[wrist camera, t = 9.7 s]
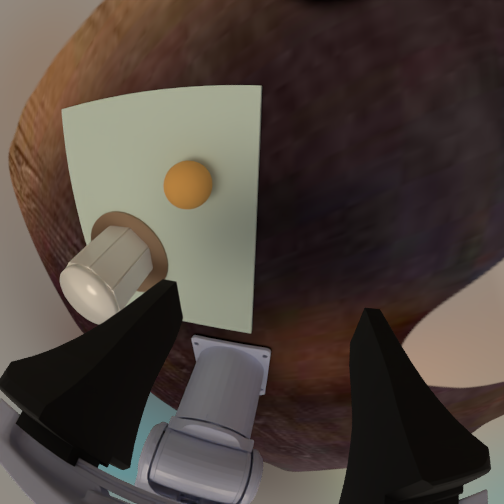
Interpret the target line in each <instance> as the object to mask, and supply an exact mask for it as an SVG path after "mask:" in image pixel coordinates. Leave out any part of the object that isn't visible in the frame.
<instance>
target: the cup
mask: <svg viewBox="0 0 504 504" xmlns="http://www.w3.org/2000/svg"><path fill="white" fill-rule="evenodd" d="M152 269H153V265H152V260H151V255H150V250H149V247H148V245H147V244H146V243H145V242H144V241H143V240H142V239H141V238H140V237H139V236H138V235H137V234H136V233H135V232H134V231H133V230H132V229H129V228H128V227H119V226H109V227H107V228H106V229H105V230H104V231H103V232H102V233H100V234H99V235H98V236H97V237H96V238H95V239H94V240H93V241H91V242H90V243H89V244H88V245H87V246H86V247H85V248H84V249H83V250H82V251H80V252H79V253H78V254H77V255H76V256H75V257H74V258H73V259H72V260H71V261H70V262H69V263H68V265H67V267H66V268H65V269H64V270H63V271H62V273H61V275H60V285H61V288H62V291H63V293H64V295H65V297H66V298H67V300H68V301H69V303H70V304H71V305H72V306H73V307H74V309H75V310H76V311H77V312H79V313H80V314H81V315H82V316H83V317H85V318H86V319H88V320H90V321H91V322H93V323H96V324H99V325H100V324H101V323H103V322H104V321H106V320H107V319H109V318H110V317H112V316H113V315H115V314H116V313H118V312H119V311H120V310H122V309H123V308H124V307H125V306H126V305H127V303H128V302H129V300H130V299H131V298H132V296H133V295H134V294H135V292H136V291H137V289H138V288H139V287H140V285H141V284H142V283H143V281H144V280H145V279H146V277H147V276H148V275H149V273H150V272H151V271H152Z"/></svg>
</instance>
